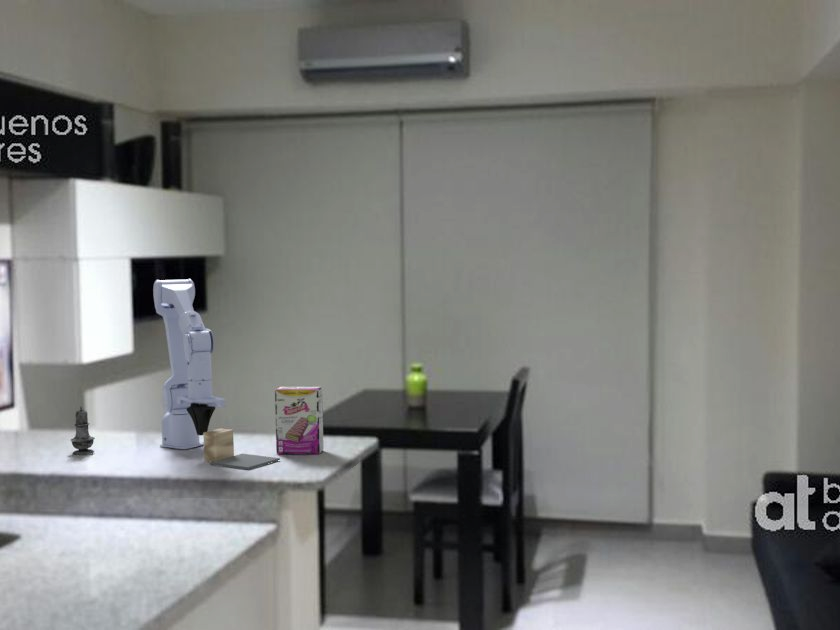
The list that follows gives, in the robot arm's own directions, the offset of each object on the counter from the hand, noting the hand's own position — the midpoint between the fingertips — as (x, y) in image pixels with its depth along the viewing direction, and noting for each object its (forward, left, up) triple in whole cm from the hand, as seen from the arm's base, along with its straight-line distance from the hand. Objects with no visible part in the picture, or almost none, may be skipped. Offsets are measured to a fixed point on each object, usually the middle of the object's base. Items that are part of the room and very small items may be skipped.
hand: (202, 434), depth 233 cm
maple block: (+5, 0, -6) cm, 8 cm away
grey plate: (+14, 0, -6) cm, 15 cm away
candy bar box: (+18, +15, -6) cm, 25 cm away
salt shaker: (-33, -10, -6) cm, 34 cm away
